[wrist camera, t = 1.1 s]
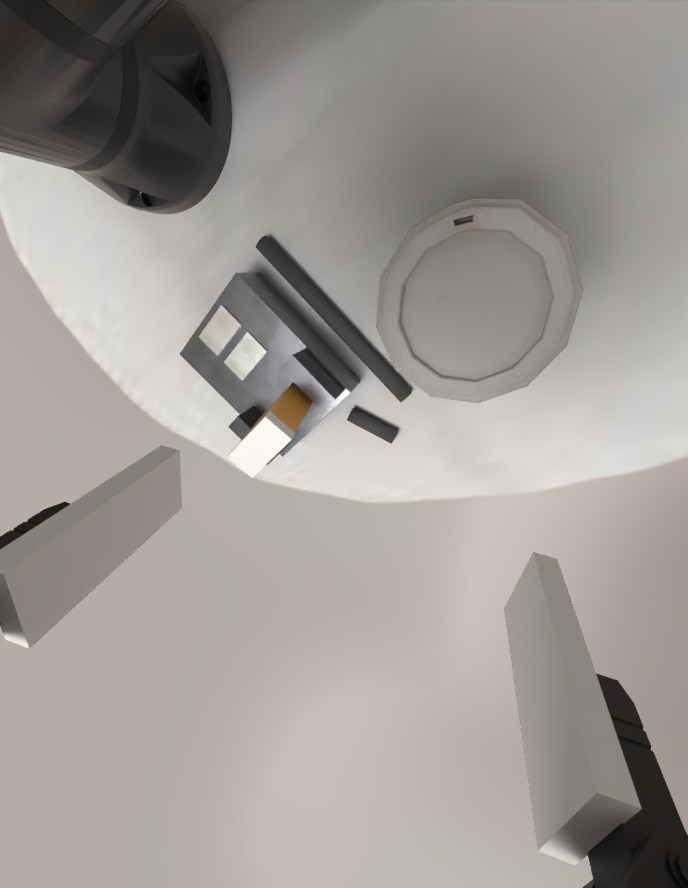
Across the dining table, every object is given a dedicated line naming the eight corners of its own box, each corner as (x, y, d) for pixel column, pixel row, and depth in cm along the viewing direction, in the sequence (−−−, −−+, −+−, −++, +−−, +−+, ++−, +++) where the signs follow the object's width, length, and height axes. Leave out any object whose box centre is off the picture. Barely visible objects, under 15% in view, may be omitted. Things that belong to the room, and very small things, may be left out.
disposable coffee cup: (538, 349, 33) (592, 401, 20) (411, 367, 36) (384, 423, 23) (535, 207, 29) (598, 156, 16) (394, 243, 33) (350, 224, 19)
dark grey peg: (349, 417, 40) (345, 422, 39) (354, 405, 39) (351, 410, 38) (392, 440, 40) (390, 445, 39) (398, 429, 39) (396, 434, 38)
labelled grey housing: (203, 346, 41) (158, 360, 35) (257, 272, 37) (216, 272, 30) (297, 441, 43) (269, 470, 37) (360, 381, 38) (341, 402, 32)
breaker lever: (262, 413, 37) (225, 459, 30) (298, 374, 35) (267, 414, 28) (282, 430, 38) (250, 479, 31) (319, 393, 35) (293, 437, 28)
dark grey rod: (260, 248, 36) (253, 248, 34) (269, 236, 35) (262, 235, 34) (401, 399, 38) (399, 403, 37) (412, 390, 37) (410, 394, 36)
